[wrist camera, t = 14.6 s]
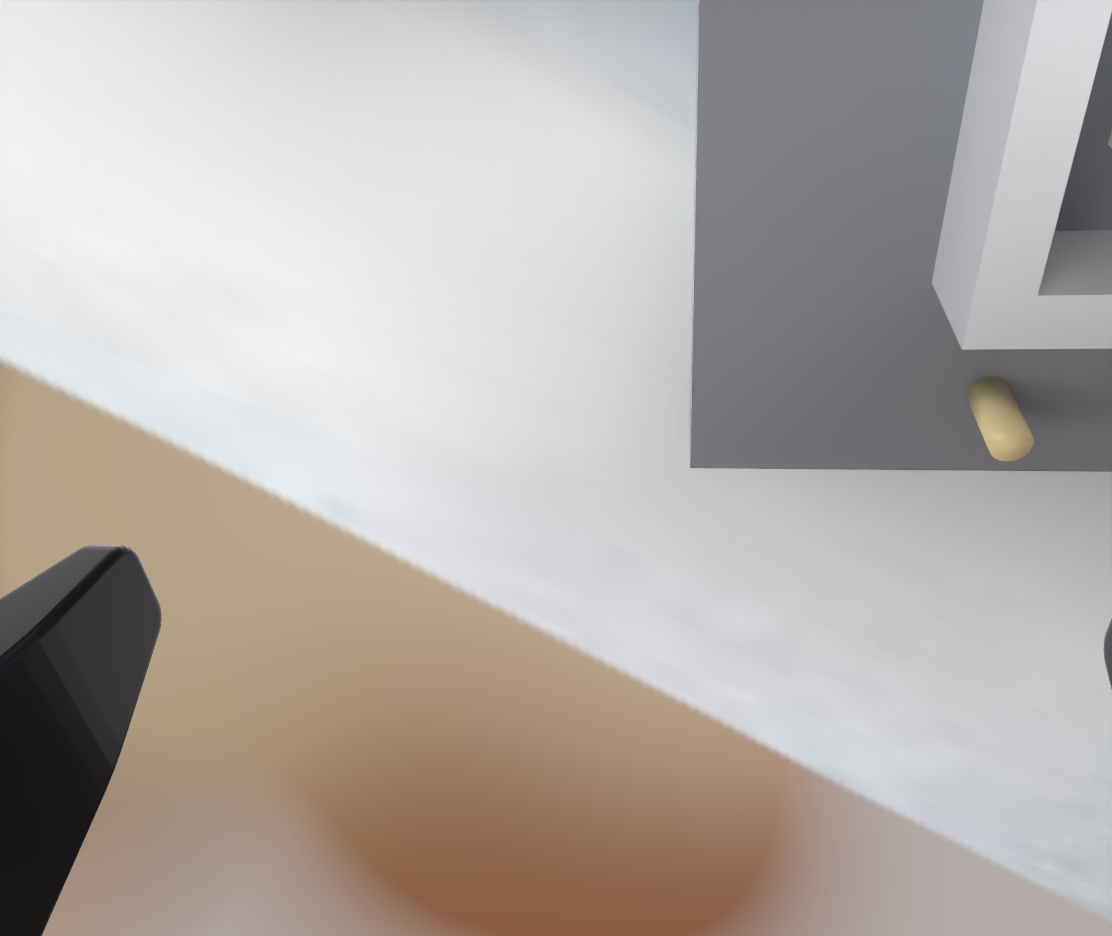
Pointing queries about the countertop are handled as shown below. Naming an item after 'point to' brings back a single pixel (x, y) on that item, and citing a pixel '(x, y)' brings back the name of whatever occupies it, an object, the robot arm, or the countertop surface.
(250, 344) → the countertop surface
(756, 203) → the header dock
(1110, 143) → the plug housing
